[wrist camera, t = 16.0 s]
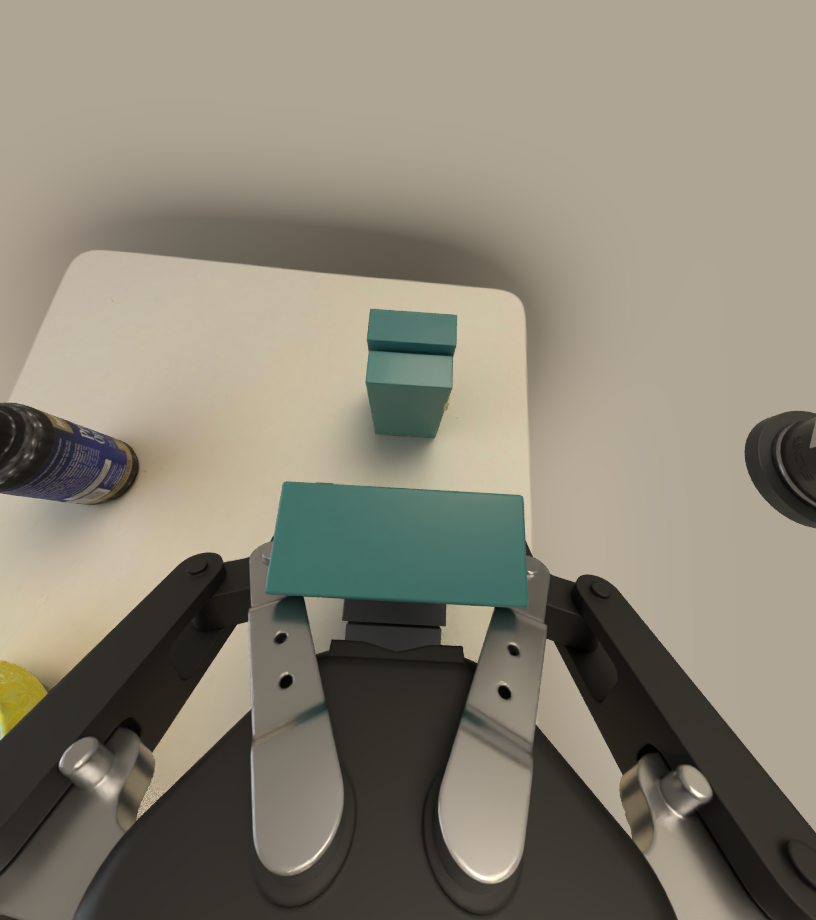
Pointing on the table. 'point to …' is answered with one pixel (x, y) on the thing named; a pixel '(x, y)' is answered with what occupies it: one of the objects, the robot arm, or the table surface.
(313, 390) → the table surface
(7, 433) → the pill bottle
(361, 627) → the grey books
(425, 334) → the teal books
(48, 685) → the table surface
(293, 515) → the teal book
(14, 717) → the bowl
